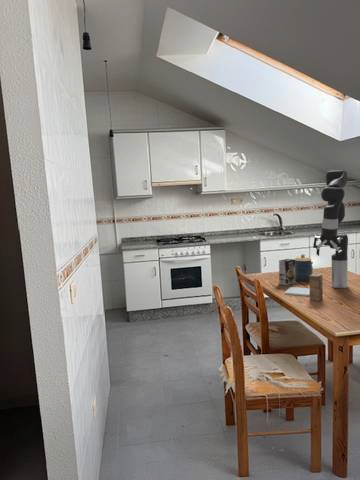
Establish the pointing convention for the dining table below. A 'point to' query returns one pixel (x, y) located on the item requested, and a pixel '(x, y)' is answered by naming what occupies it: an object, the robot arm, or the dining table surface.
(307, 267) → the canister
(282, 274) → the coffee box
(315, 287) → the walnut block
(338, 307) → the dining table surface
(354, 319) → the dining table surface
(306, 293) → the pale pad
